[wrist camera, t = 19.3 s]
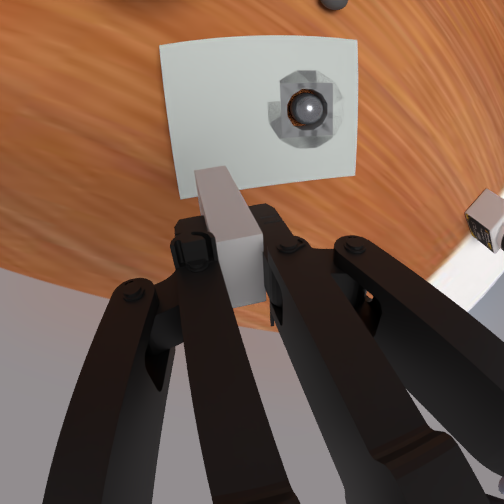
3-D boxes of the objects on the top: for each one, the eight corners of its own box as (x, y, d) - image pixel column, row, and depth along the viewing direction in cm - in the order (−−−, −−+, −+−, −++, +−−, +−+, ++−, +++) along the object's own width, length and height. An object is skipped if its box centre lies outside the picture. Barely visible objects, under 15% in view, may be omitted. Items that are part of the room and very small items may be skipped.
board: (179, 190, 34) (180, 199, 32) (160, 47, 26) (159, 45, 24) (345, 168, 38) (354, 175, 35) (345, 40, 29) (357, 40, 27)
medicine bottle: (463, 212, 47) (510, 247, 37) (486, 187, 45) (533, 218, 35) (471, 235, 51) (512, 270, 41) (492, 211, 49) (534, 242, 39)
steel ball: (285, 122, 33) (300, 130, 30) (283, 92, 31) (299, 97, 28) (312, 117, 34) (329, 126, 31) (311, 88, 31) (329, 94, 29)
